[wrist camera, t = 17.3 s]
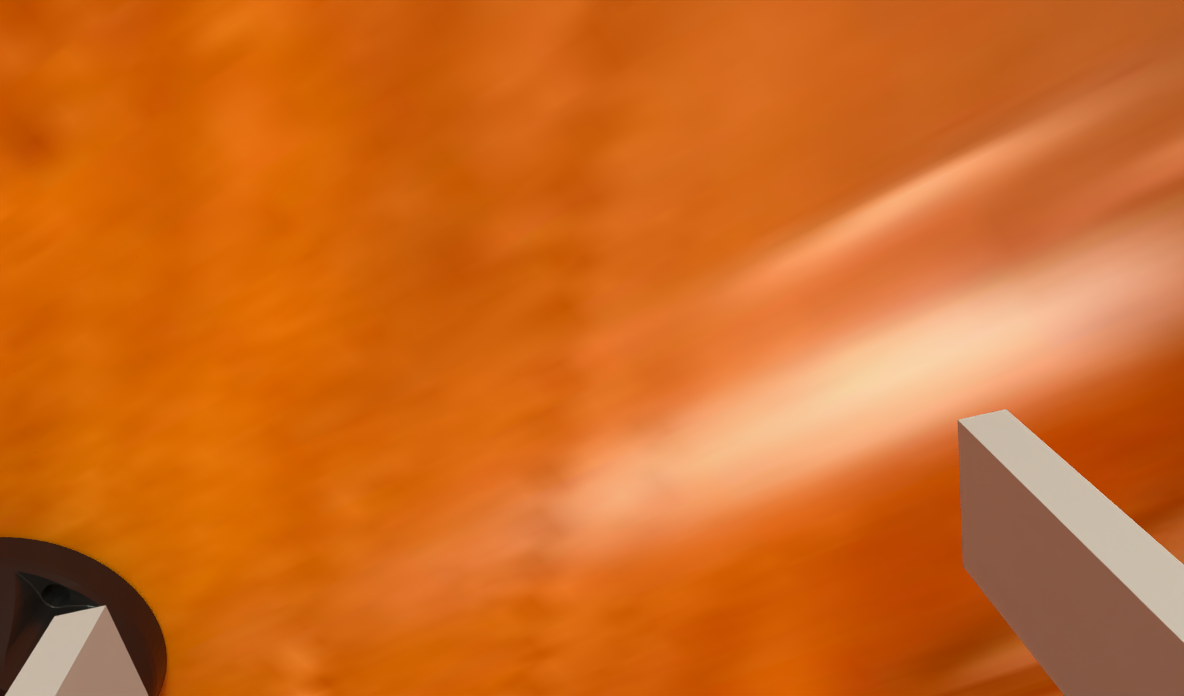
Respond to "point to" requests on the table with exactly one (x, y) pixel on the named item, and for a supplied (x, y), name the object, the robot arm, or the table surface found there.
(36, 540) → the robot arm
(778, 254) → the table surface
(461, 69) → the table surface
